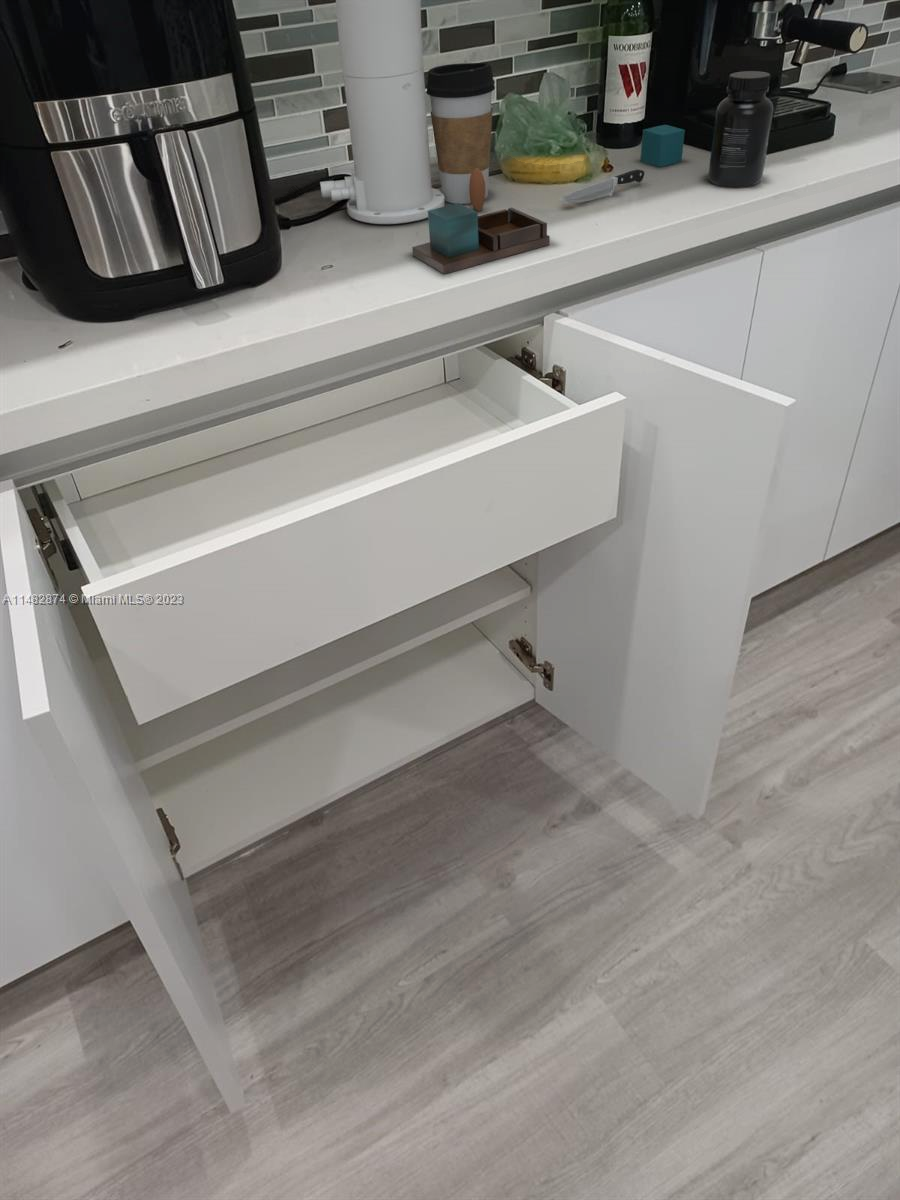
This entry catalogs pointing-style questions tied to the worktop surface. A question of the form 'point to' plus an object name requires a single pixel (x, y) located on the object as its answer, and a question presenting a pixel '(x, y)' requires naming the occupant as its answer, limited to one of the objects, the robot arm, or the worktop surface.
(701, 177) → the worktop surface
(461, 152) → the coffee cup
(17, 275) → the worktop surface
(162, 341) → the worktop surface
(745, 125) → the supplement bottle
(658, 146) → the teal cube
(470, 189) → the orange ellipsoid
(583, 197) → the knife
